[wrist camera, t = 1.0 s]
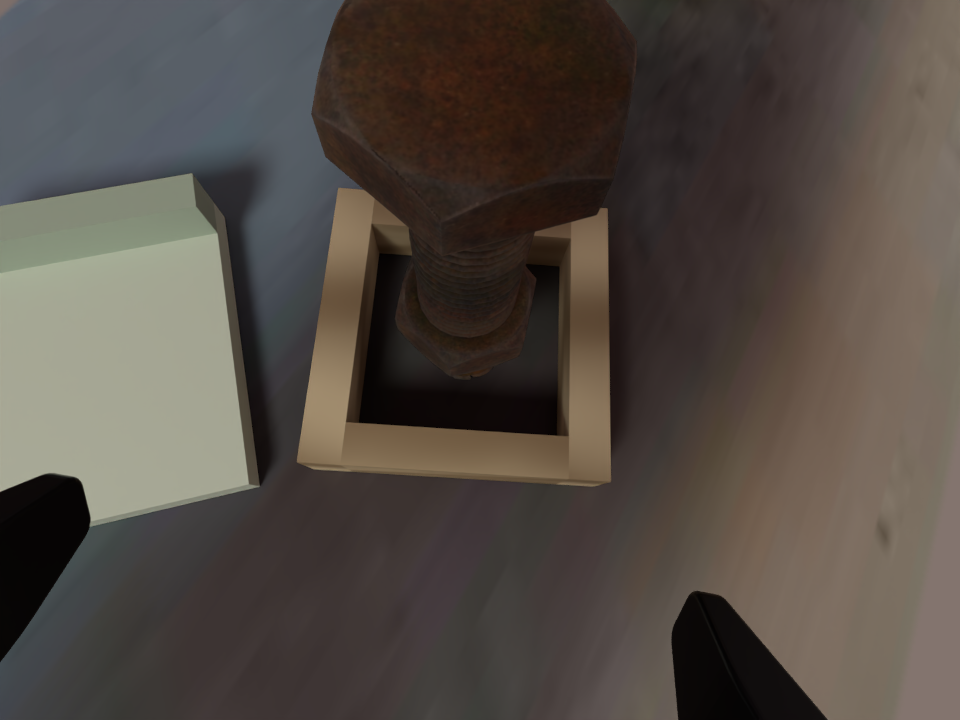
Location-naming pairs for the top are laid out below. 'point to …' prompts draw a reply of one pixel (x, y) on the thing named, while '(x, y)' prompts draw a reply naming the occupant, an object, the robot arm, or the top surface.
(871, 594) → the top surface
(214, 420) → the pale green ledge plate
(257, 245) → the top surface
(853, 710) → the top surface
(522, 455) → the socket
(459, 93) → the bolt
